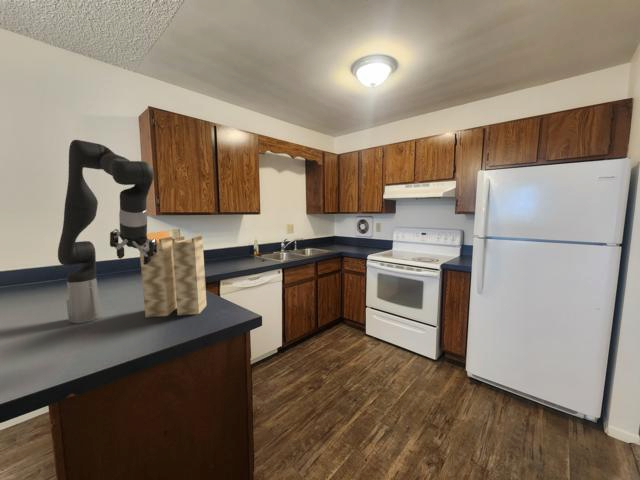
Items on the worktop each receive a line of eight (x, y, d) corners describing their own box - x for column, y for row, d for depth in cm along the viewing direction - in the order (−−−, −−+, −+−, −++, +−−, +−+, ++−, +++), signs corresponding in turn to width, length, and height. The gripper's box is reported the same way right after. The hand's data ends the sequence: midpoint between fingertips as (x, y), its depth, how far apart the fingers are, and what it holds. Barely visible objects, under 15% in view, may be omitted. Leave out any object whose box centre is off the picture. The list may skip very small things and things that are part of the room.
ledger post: (177, 315, 115) (171, 239, 111) (186, 306, 126) (182, 236, 122) (199, 314, 116) (194, 238, 112) (206, 305, 127) (202, 236, 123)
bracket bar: (137, 245, 104) (136, 235, 104) (161, 239, 124) (160, 231, 123) (147, 244, 104) (147, 234, 104) (170, 239, 124) (169, 231, 124)
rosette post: (145, 317, 113) (138, 239, 110) (157, 307, 124) (152, 237, 121) (167, 315, 114) (161, 239, 111) (178, 306, 125) (172, 236, 122)
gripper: (102, 219, 83) (105, 261, 90) (149, 230, 85) (148, 271, 92) (118, 210, 90) (120, 250, 97) (161, 221, 92) (160, 260, 99)
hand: (134, 260), depth 95 cm, fingers open, 8 cm apart
